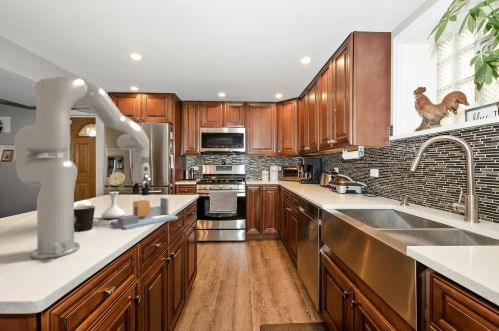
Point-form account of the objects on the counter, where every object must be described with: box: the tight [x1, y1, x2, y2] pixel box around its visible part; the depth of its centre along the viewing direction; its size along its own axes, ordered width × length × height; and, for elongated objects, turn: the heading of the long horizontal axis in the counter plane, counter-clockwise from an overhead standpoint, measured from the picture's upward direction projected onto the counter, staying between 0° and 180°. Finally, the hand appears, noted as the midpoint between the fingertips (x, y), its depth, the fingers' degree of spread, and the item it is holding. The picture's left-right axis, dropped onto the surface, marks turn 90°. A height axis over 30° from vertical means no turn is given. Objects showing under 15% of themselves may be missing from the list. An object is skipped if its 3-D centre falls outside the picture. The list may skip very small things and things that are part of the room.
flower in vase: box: [101, 171, 126, 220], centre depth 128 cm, size 13×11×25 cm
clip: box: [132, 199, 151, 217], centre depth 121 cm, size 5×6×7 cm
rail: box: [110, 197, 179, 231], centre depth 121 cm, size 16×27×10 cm, turn 141°
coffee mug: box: [74, 205, 96, 233], centre depth 106 cm, size 12×9×10 cm
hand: (140, 194), depth 120 cm, fingers open, 9 cm apart
